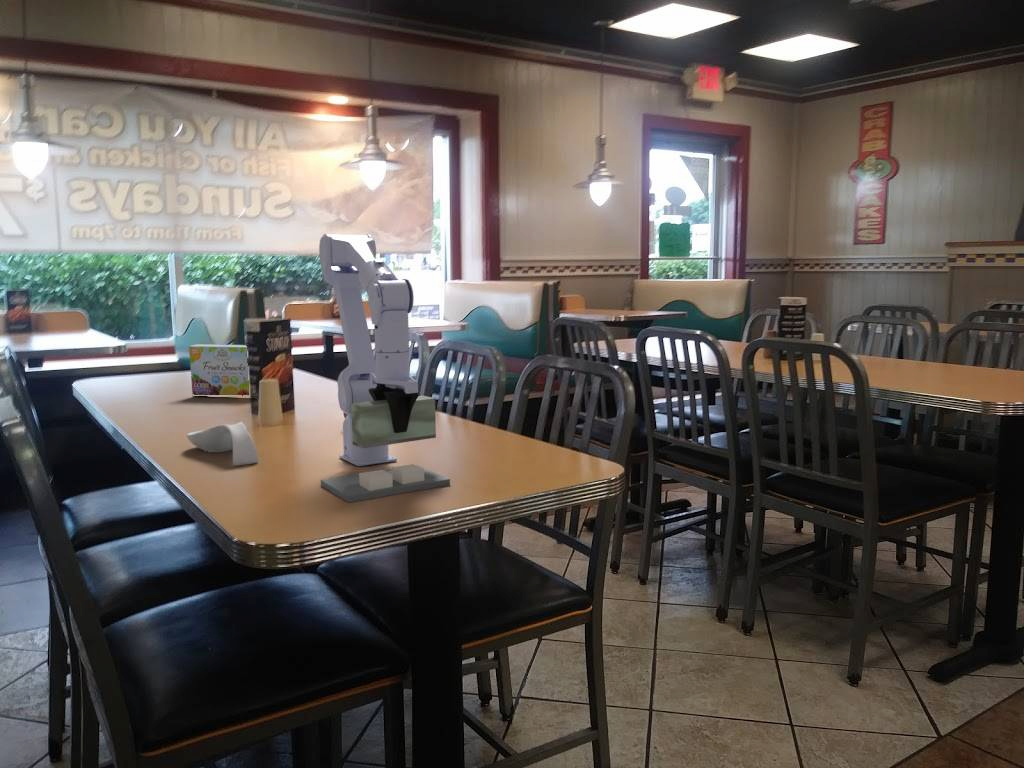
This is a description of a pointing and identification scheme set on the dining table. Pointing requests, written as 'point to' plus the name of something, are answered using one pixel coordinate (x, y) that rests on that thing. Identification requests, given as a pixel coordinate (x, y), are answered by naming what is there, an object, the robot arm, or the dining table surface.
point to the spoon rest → (227, 442)
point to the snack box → (219, 369)
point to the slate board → (353, 491)
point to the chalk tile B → (407, 474)
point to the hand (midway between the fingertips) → (394, 429)
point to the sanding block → (377, 426)
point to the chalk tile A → (376, 480)
